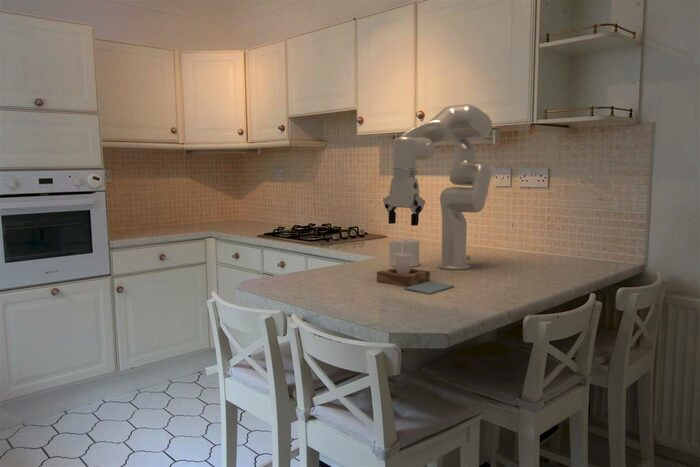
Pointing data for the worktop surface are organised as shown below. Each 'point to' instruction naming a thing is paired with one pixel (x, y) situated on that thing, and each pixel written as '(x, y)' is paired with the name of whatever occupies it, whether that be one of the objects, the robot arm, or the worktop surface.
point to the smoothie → (403, 261)
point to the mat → (429, 287)
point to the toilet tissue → (404, 250)
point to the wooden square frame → (403, 277)
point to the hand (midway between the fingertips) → (403, 224)
